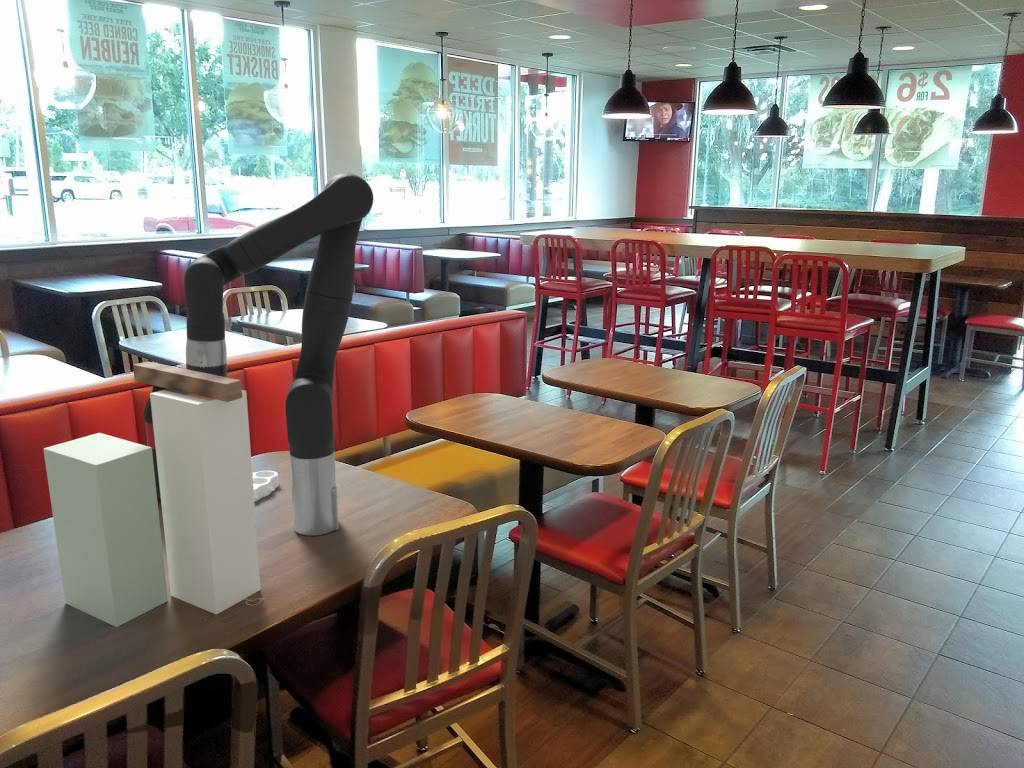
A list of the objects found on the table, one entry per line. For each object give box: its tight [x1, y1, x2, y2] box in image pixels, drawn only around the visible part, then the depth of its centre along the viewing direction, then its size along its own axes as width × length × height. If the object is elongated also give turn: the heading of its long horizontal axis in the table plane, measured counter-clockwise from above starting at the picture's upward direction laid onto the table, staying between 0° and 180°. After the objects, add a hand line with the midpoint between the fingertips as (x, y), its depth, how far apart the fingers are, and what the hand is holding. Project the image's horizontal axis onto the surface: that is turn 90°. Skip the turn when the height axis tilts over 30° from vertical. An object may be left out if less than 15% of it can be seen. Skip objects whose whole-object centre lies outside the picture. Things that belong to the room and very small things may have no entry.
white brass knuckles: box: [252, 470, 280, 503], centre depth 189 cm, size 3×18×15 cm
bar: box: [132, 361, 243, 402], centre depth 136 cm, size 24×3×3 cm, turn 60°
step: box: [42, 432, 169, 628], centre depth 138 cm, size 14×10×29 cm
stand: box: [149, 389, 262, 615], centre depth 140 cm, size 12×10×38 cm
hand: (207, 437), depth 161 cm, fingers open, 8 cm apart
